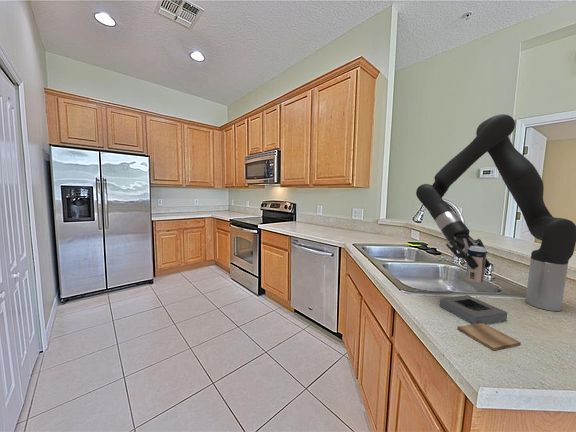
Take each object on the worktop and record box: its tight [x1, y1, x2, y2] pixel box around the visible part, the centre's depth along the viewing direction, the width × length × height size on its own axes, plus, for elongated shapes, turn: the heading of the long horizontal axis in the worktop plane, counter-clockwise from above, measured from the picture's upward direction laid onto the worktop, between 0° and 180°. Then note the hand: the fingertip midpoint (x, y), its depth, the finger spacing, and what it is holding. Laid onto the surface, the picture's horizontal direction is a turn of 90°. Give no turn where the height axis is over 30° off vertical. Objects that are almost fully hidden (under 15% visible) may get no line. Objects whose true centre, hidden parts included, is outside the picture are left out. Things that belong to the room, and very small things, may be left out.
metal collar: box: [439, 294, 508, 325], centre depth 81 cm, size 13×13×3 cm
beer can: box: [465, 246, 488, 284], centre depth 79 cm, size 5×5×12 cm
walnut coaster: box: [456, 323, 522, 351], centre depth 68 cm, size 10×10×1 cm
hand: (481, 267), depth 78 cm, fingers closed on beer can, 4 cm apart
